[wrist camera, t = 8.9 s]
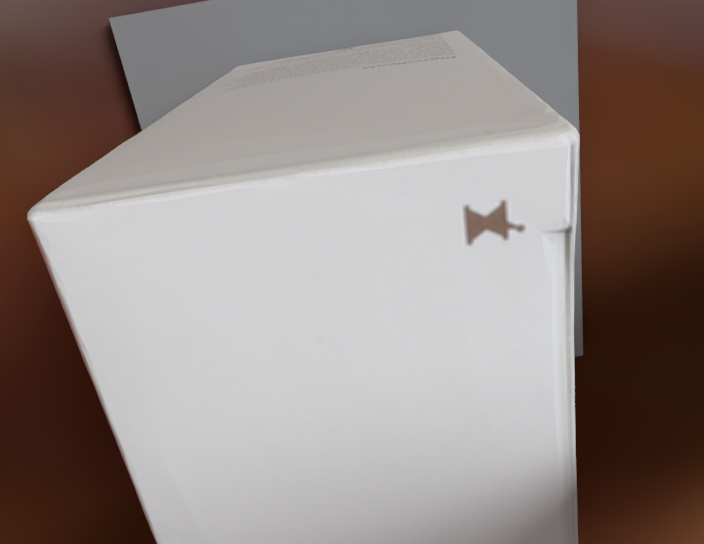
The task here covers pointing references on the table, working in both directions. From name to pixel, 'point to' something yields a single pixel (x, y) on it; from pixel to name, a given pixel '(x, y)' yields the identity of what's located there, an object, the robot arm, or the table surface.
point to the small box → (335, 302)
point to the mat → (345, 32)
